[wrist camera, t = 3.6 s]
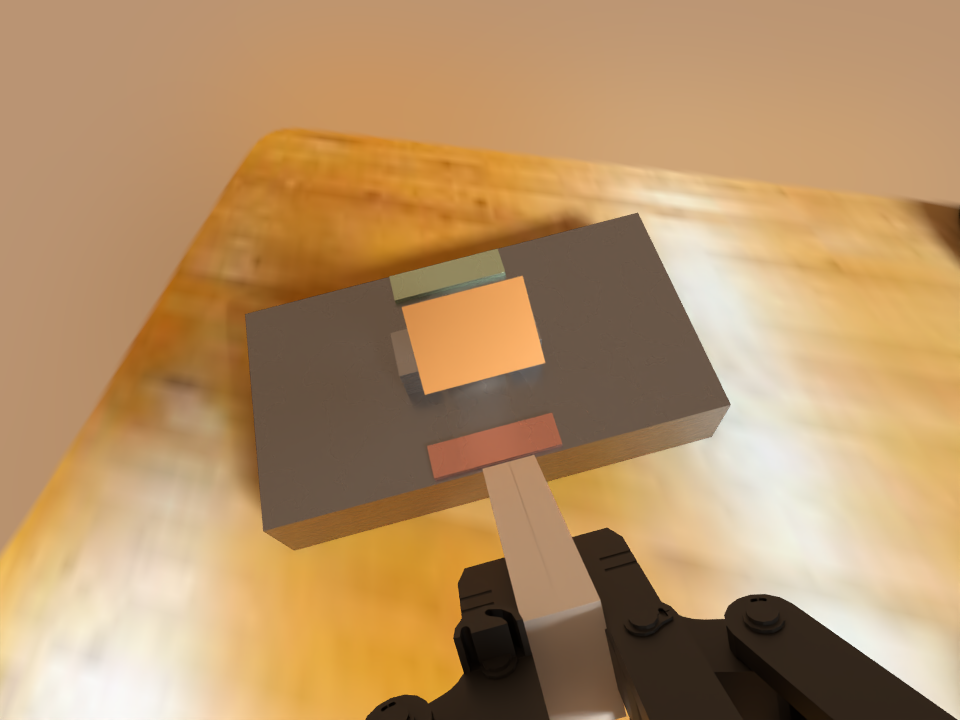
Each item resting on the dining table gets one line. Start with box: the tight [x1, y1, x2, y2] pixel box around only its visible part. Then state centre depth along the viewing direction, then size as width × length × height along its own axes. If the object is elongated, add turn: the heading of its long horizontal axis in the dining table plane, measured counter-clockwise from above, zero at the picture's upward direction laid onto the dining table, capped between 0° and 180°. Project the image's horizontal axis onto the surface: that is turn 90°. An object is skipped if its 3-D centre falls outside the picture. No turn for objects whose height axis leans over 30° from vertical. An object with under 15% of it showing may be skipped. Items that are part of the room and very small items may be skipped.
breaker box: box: [245, 213, 731, 550], centre depth 33 cm, size 22×12×6 cm, turn 104°
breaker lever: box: [402, 276, 545, 395], centre depth 26 cm, size 4×3×14 cm
